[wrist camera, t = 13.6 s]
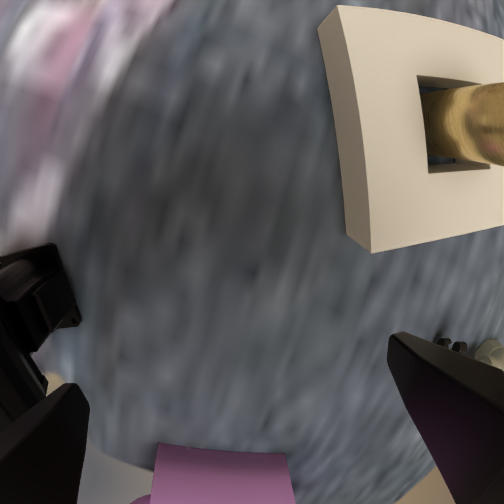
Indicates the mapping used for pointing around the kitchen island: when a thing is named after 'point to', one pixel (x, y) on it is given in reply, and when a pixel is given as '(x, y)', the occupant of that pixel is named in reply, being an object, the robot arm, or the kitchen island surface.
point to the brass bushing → (465, 123)
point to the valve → (480, 351)
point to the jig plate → (405, 125)
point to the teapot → (218, 477)
